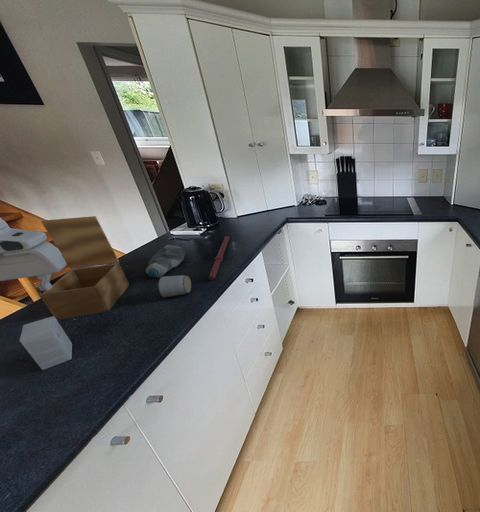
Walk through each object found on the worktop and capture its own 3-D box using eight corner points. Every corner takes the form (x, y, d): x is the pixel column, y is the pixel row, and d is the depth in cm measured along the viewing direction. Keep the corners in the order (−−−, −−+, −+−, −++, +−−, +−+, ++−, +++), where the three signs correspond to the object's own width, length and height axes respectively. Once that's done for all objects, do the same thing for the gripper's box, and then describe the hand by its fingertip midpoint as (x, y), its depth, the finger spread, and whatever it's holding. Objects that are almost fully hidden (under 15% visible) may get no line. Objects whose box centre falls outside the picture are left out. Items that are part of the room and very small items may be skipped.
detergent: (160, 257, 129) (132, 283, 107) (156, 243, 126) (127, 267, 104) (192, 256, 132) (171, 281, 111) (189, 242, 130) (167, 266, 108)
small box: (44, 354, 76) (22, 324, 71) (73, 343, 79) (54, 315, 74) (41, 371, 71) (17, 340, 66) (72, 359, 74) (52, 329, 69)
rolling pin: (217, 280, 111) (215, 274, 110) (208, 281, 110) (206, 275, 109) (231, 239, 149) (230, 234, 148) (224, 240, 148) (223, 235, 147)
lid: (94, 216, 93) (101, 212, 97) (40, 221, 89) (50, 215, 93) (118, 262, 102) (123, 256, 106) (70, 268, 98) (77, 262, 102)
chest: (109, 310, 93) (96, 286, 88) (56, 320, 88) (39, 295, 84) (129, 285, 107) (119, 263, 103) (84, 291, 103) (71, 269, 98)
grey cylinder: (189, 297, 101) (182, 279, 97) (162, 301, 98) (155, 283, 95) (196, 283, 109) (190, 266, 106) (172, 286, 107) (165, 269, 104)
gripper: (-102, 256, 55) (-53, 310, 61) (36, 241, 62) (67, 291, 68) (-71, 244, 60) (-29, 295, 66) (53, 231, 67) (81, 279, 73)
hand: (21, 293), depth 67 cm, fingers open, 8 cm apart
